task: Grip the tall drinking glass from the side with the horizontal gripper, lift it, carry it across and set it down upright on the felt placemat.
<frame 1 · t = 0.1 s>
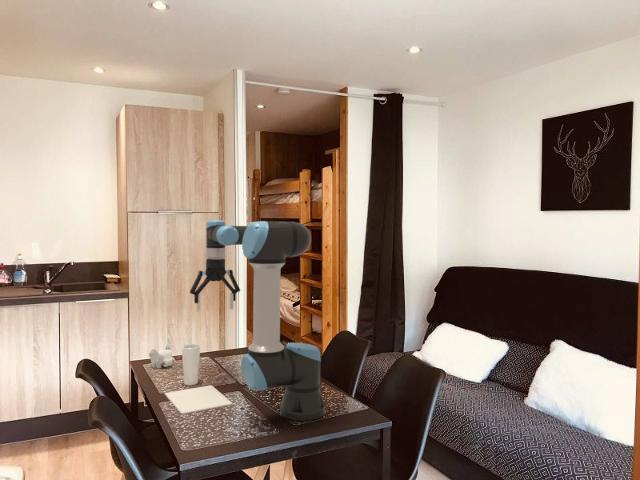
hand: (215, 310, 203), 28 cm above the table, tool pointing down, fingers open, 13 cm apart
elephant figurine: (162, 367, 218), on the table
felt placemat: (197, 399, 180), on the table
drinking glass: (190, 384, 196), on the table
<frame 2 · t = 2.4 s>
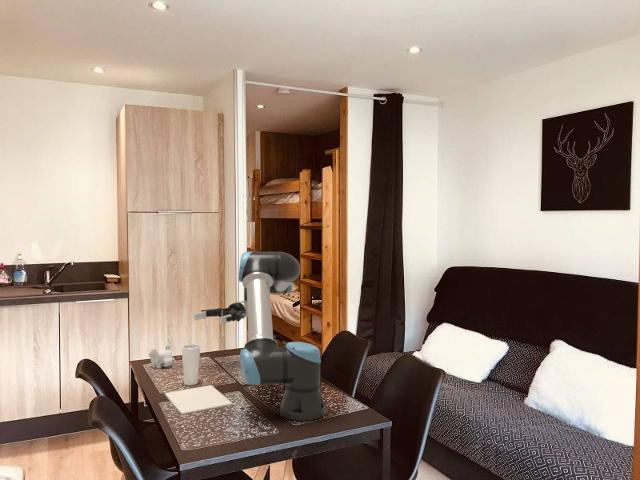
hand: (207, 318, 204), 24 cm above the table, tool horizontal, fingers open, 13 cm apart
nothing on the table moved.
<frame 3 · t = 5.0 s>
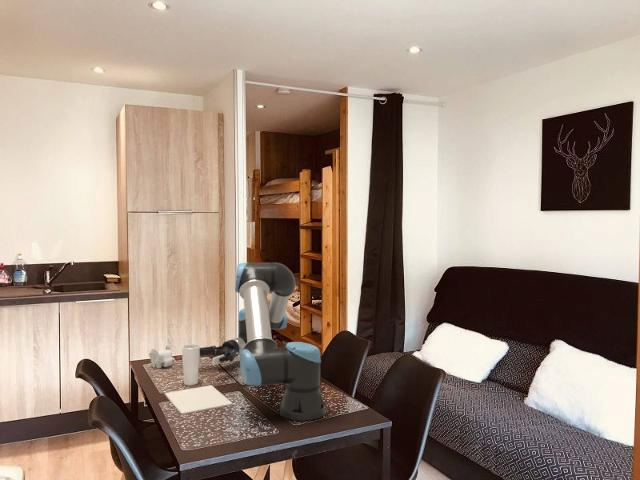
hand: (200, 359, 201), 8 cm above the table, tool horizontal, fingers open, 13 cm apart
nothing on the table moved.
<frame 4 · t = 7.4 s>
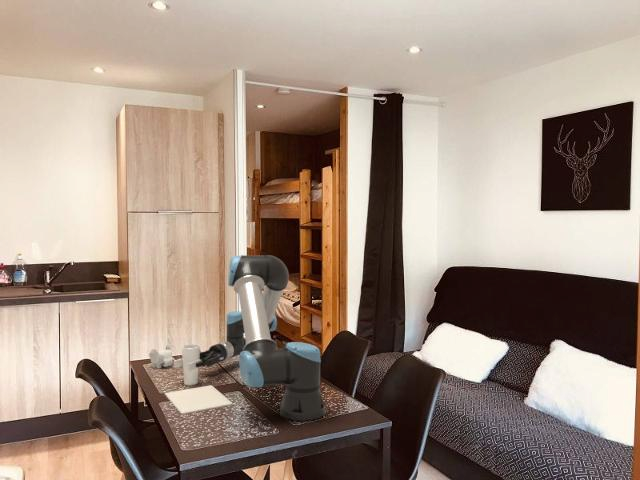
hand: (181, 365, 192), 9 cm above the table, tool horizontal, fingers closed on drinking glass, 7 cm apart
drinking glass: (190, 384, 196), on the table, touching gripper
everything else where it was.
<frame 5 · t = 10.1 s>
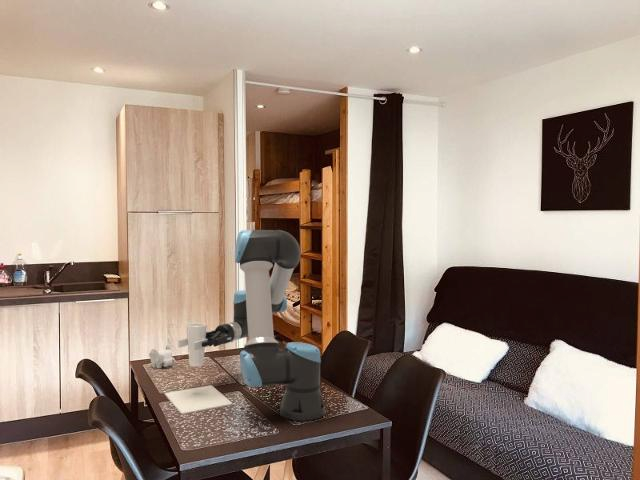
hand: (186, 344, 179), 20 cm above the table, tool horizontal, fingers closed on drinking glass, 7 cm apart
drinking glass: (196, 365, 183), point 11 cm above the table, touching gripper
everything else where it was.
when the fingers open (10 cm above the table, at t = 13.2 s): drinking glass drops 1 cm, resting on felt placemat.
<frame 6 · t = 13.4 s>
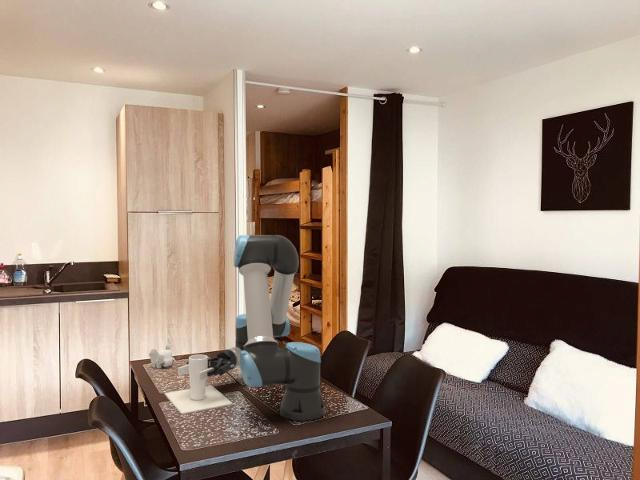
hand: (189, 374, 175), 10 cm above the table, tool horizontal, fingers open, 9 cm apart
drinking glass: (197, 398, 180), resting on felt placemat
everything else where it was.
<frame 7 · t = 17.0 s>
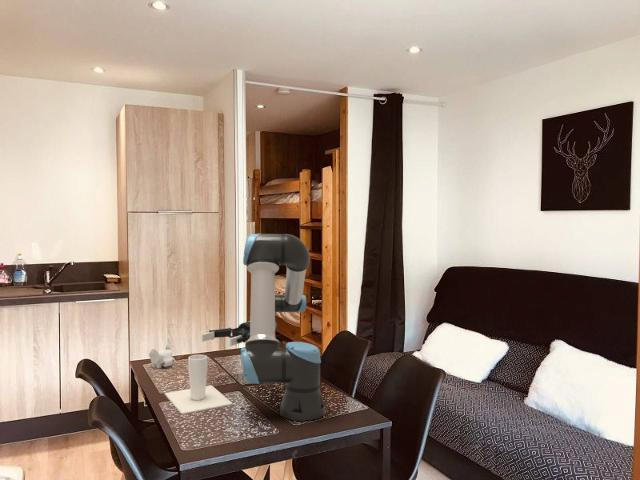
hand: (216, 340, 188), 19 cm above the table, tool horizontal, fingers open, 13 cm apart
nothing on the table moved.
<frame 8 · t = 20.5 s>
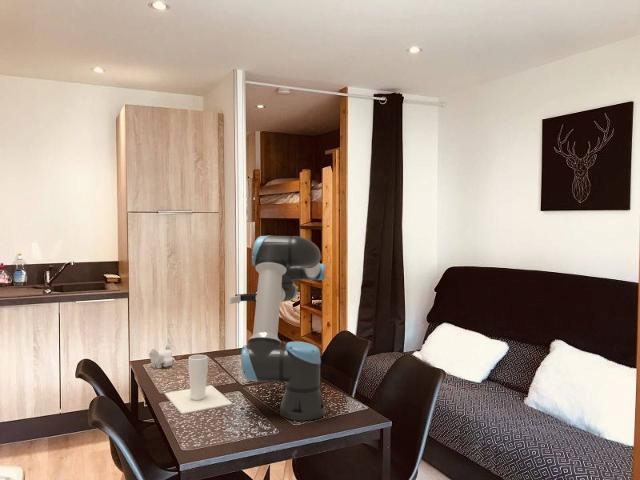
hand: (243, 302, 200), 32 cm above the table, tool horizontal, fingers open, 13 cm apart
nothing on the table moved.
at the end: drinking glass inside the target area on the felt placemat (0.1 cm from its centre), point 0.3 cm above the felt placemat's base; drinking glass tilted 0°; the gripper is holding nothing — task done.
